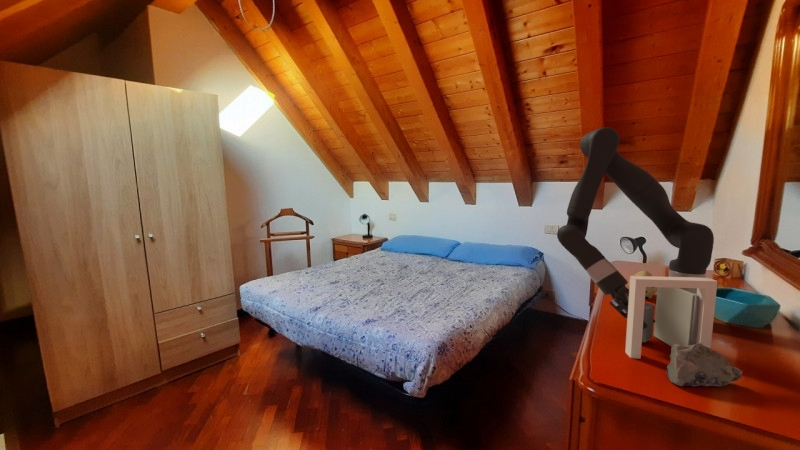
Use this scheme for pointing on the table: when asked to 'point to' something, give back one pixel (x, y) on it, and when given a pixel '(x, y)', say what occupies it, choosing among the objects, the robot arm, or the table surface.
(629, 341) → the door frame
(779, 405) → the table surface
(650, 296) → the toy pig
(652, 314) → the block
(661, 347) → the table surface
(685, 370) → the mineral rock
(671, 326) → the door
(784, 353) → the table surface
